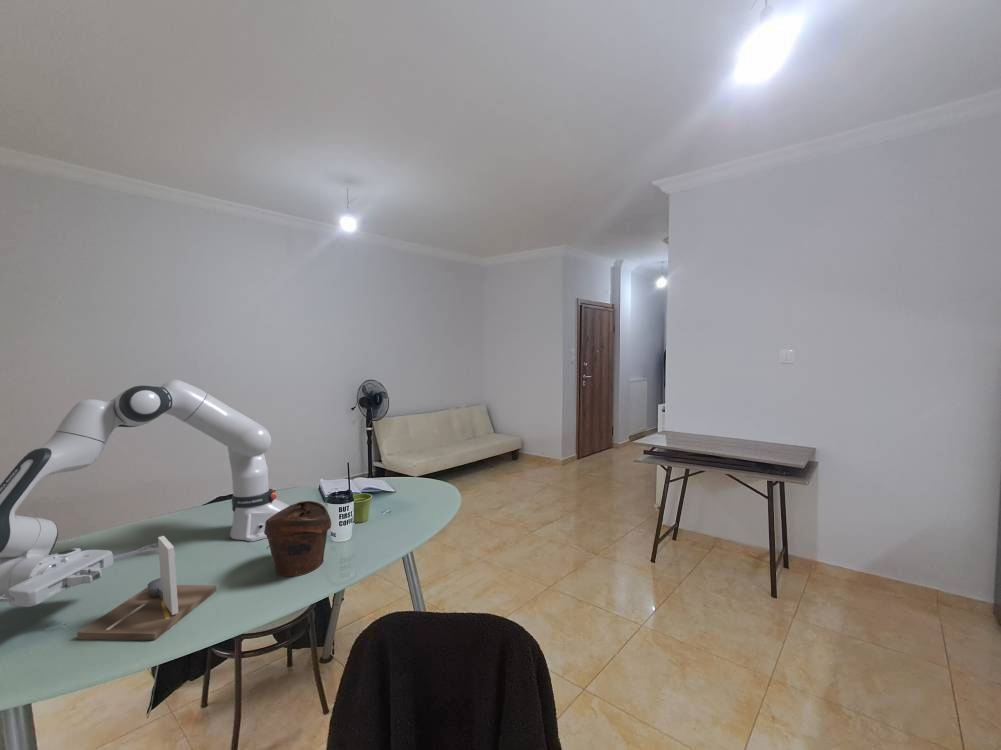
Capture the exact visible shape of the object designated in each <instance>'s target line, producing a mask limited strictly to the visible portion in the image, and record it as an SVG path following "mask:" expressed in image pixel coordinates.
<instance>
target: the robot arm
mask: <svg viewBox="0 0 1001 750" xmlns="http://www.w3.org/2000/svg"><path fill="white" fill-rule="evenodd" d="M163 414H166V415H170V416H173V417H175V418H177V419H178V420H180V421H182V422H184V423H185V424H187V425H189V426H191V427H192V428H194V429H196V430H198V431H200V432H201V433H203V434H204V435H207V436H208V437H211V438H212V439H214V440H215V441H217V442H219V443H221V444H223V445H224V446H226V447H227V451H228V458H229V465H230V468H231V481H232V494H231V500H230V501H231V510H232V512H233V513H232V514H233V515H232V524H231V528H230V533H229V537H230V538H231V539H233V540H239V541H240V540H242V541H246V542H255V541H259V540H264V539H267V535H265V534H264V531H265V523H266V520H268V519H269V518H270V517H272V516H273V515H275V514H276V513H278V512H279V511H281V510H283V509H285V508H287V507H289V506H290V504H287V503H286V502H283V501H282V500H279V498H278V494H277V492H276V490H275V489H274V488H269V487H270V485H269V484H270V483H269V481H270V480H269V468H268V467H269V466H268V464H267V461H266V456H265V453H267V451H269V449H270V448H271V445H272V436H271V433H270V432H269V430H268V429H267V428H266V427H265V426H263V425H262V424H260V423H258V422H256V421H255V420H253V419H252V418H249V417H248V416H246V415H245V414H243V413H241V412H239V411H238V410H236V409H235V408H233V407H231V406H229V405H227V404H226V403H224V402H223V401H221V400H220V399H217V398H216V397H214V396H212V395H211V394H209V393H208V392H206V391H204V390H202V389H200V388H199V387H197V386H195V385H192V384H190V383H188V382H186V381H183V380H180V379H171V380H168V381H166V382H165V383H163V384H162V385H161V386H152V385H137V386H133V387H130V388H129V389H125V390H124V391H122V392H120V393H119V394H118V395H117V396H116V397H115V398H113V399H111V400H110V401H104V400H101V399H95V398H90V399H83V400H80V401H78V402H77V403H76V404H75V405H74V406H73V407H72V408H71V409H70V411H68V413H67V414H66V415H65V417H63V419H62V421H61V422H60V423H59V425H58V427H57V428H56V429H55V431H54V433H53V435H52V436H51V437H50V439H49V440H48V441H47V442H45V444H43V445H42V446H40V447H39V448H36V449H33V450H31V451H30V452H28V453H27V454H26V455H25V456H23V457H22V458H21V460H19V462H17V464H16V465H15V467H14V468H13V469H12V470H11V471H10V472H9V474H8V475H7V476H6V477H5V478H4V480H3V481H2V482H1V483H0V603H7V602H8V605H11V606H13V607H22V608H23V607H24V608H30V607H34V606H38V605H39V604H41V603H43V602H46V601H47V600H49V599H51V598H53V597H54V596H57V595H58V594H61V593H62V592H64V591H66V590H68V589H69V588H72V587H75V586H79V585H84V584H91V583H93V582H95V581H96V580H98V579H101V578H102V577H103V572H102V571H103V570H106V569H107V568H109V567H111V566H113V564H114V562H113V556H114V554H113V552H112V551H111V550H108V549H106V550H105V549H86V550H82V549H81V548H77V547H75V548H71V549H67V550H63V551H61V552H58V553H52V551H53V549H54V548H55V545H56V543H57V541H58V536H59V529H58V526H57V524H56V522H54V520H52V519H47V518H41V517H34V516H24V515H17V514H16V512H17V510H18V509H19V507H20V506H21V505H22V503H23V502H24V501H25V499H26V498H27V497H28V496H29V494H30V493H31V492H32V490H33V489H34V488H35V487H36V485H37V484H38V483H39V482H40V481H42V480H43V479H45V478H47V477H48V476H51V475H55V474H59V473H67V472H74V471H78V470H82V469H84V468H86V467H88V466H90V465H92V464H93V463H94V462H96V460H97V459H98V458H99V457H100V455H101V454H102V452H103V451H104V448H105V446H106V444H107V442H108V440H109V438H110V436H111V435H112V433H113V431H115V429H116V428H120V427H121V428H122V427H123V428H134V427H135V428H136V427H140V426H142V425H143V426H144V425H146V424H149V423H151V422H152V421H154V420H155V419H157V418H159V417H161V416H162V415H163ZM277 498H278V499H277ZM51 553H52V554H51Z"/></svg>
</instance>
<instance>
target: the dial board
mask: <svg viewBox="0 0 1001 750" xmlns="http://www.w3.org/2000/svg"><path fill="white" fill-rule="evenodd" d="M216 592H217V585H215V584H214V585H211V584H209V585H205V584H201V585H200V584H199V585H198V584H194V585H193V584H177V598H178V613H177V614H174V615H172V614H171V612H170V611H169V609H168V608H167V606H166V605H165V603H164V602H163V600H162V599H161V597H160V596H157V597H150V596H148V586H147V587H145V588H144V589H142V590H140V591H139V592H137V594H134V595H133V596H132V597H130V598H128V599H127V600H125V601H124V602H123V603H121V604H119V605H118V606H116V607H114V608H113V609H112V610H110V611H108V612H106V613H105V614H104V615H102V616H101V617H98V619H96V620H95V621H93V622H91V623H89V625H87V626H85V627H84V628H82V629H80V630H79V631H78V632H77V633H76V634H77V640H115V641H116V640H119V641H120V640H121V641H122V640H123V641H124V640H126V641H129V640H130V641H157V639H159V638H160V637H161V636H162V635H163V634H165V633H166V632H167V631H169V629H171V628H173V627H174V626H175V625H176V624H177V623H178V622H180V621H181V620H182V619H183V618H185V617H186V616H187V615H188V614H189V613H191V612H192V611H194V609H196V608H197V607H198V606H199V605H201V604H202V603H203V602H204V601H206V600H207V599H208V598H210V597H211V596H212V595H213V594H214V593H216Z"/></svg>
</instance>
